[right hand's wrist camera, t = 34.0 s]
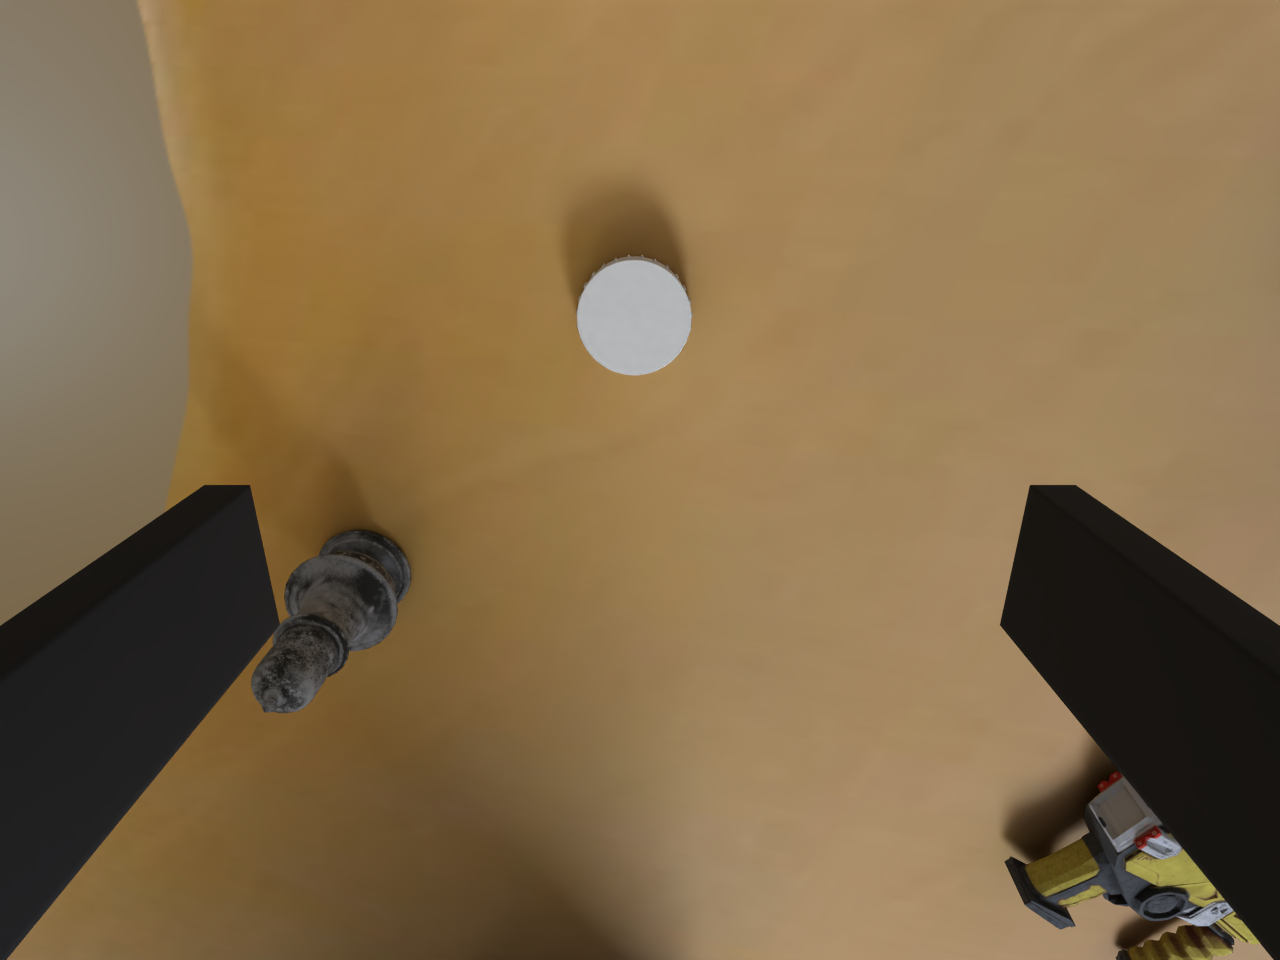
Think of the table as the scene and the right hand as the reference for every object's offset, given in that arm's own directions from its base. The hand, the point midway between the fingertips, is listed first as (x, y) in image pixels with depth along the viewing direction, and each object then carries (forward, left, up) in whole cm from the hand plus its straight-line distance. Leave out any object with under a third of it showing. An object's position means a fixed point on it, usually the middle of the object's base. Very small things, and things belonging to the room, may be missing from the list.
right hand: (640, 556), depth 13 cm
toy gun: (-18, +51, -26) cm, 60 cm away
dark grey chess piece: (+20, +7, -26) cm, 34 cm away
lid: (0, 0, -24) cm, 24 cm away
